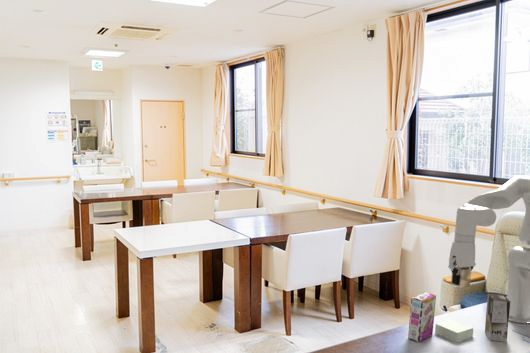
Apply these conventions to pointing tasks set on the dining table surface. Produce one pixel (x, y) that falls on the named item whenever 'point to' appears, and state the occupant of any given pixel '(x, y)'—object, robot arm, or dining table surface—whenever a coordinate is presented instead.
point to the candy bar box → (421, 316)
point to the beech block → (464, 277)
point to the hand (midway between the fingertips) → (460, 283)
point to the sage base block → (454, 330)
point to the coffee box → (497, 317)
